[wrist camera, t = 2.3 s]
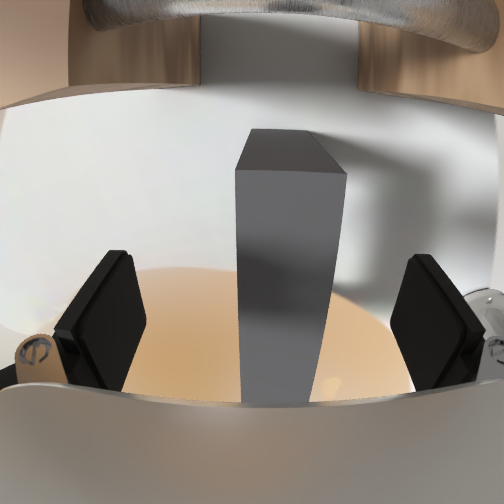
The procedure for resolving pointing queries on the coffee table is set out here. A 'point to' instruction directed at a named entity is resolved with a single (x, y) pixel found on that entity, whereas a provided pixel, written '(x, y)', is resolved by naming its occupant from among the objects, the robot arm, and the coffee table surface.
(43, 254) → the coffee table surface
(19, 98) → the hook stand
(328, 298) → the grey channel bracket
